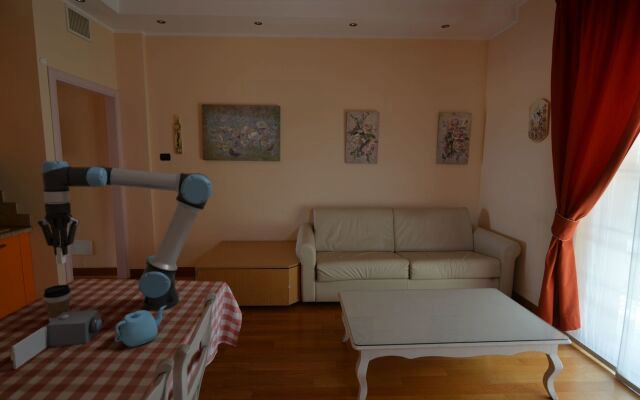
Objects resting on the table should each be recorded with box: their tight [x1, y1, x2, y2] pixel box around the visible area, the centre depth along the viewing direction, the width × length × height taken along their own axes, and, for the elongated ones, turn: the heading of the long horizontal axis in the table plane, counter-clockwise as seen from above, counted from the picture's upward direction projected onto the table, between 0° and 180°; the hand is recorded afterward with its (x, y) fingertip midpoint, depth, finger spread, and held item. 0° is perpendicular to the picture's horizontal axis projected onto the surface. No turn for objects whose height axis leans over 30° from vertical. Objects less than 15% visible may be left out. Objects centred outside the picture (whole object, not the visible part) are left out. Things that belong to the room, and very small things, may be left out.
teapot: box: [114, 305, 167, 348], centre depth 121 cm, size 13×11×18 cm
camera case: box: [46, 309, 103, 347], centre depth 120 cm, size 14×10×9 cm
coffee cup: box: [43, 284, 72, 323], centre depth 129 cm, size 8×8×15 cm
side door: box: [10, 325, 49, 370], centre depth 107 cm, size 12×2×8 cm, turn 2°
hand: (61, 263), depth 123 cm, fingers closed
